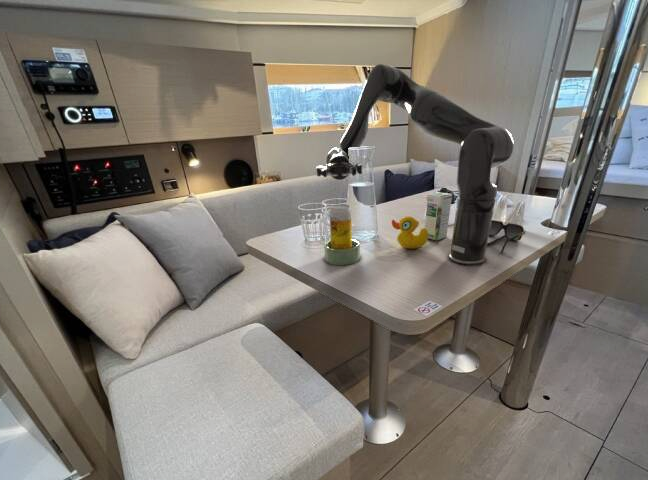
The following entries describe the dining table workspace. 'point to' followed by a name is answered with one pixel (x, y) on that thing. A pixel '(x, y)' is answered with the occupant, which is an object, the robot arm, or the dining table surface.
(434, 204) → the syrup box
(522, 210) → the shaker set
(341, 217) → the yellow bottle
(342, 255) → the green round bowl
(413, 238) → the duckling
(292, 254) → the dining table surface
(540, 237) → the dining table surface
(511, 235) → the sunglasses
